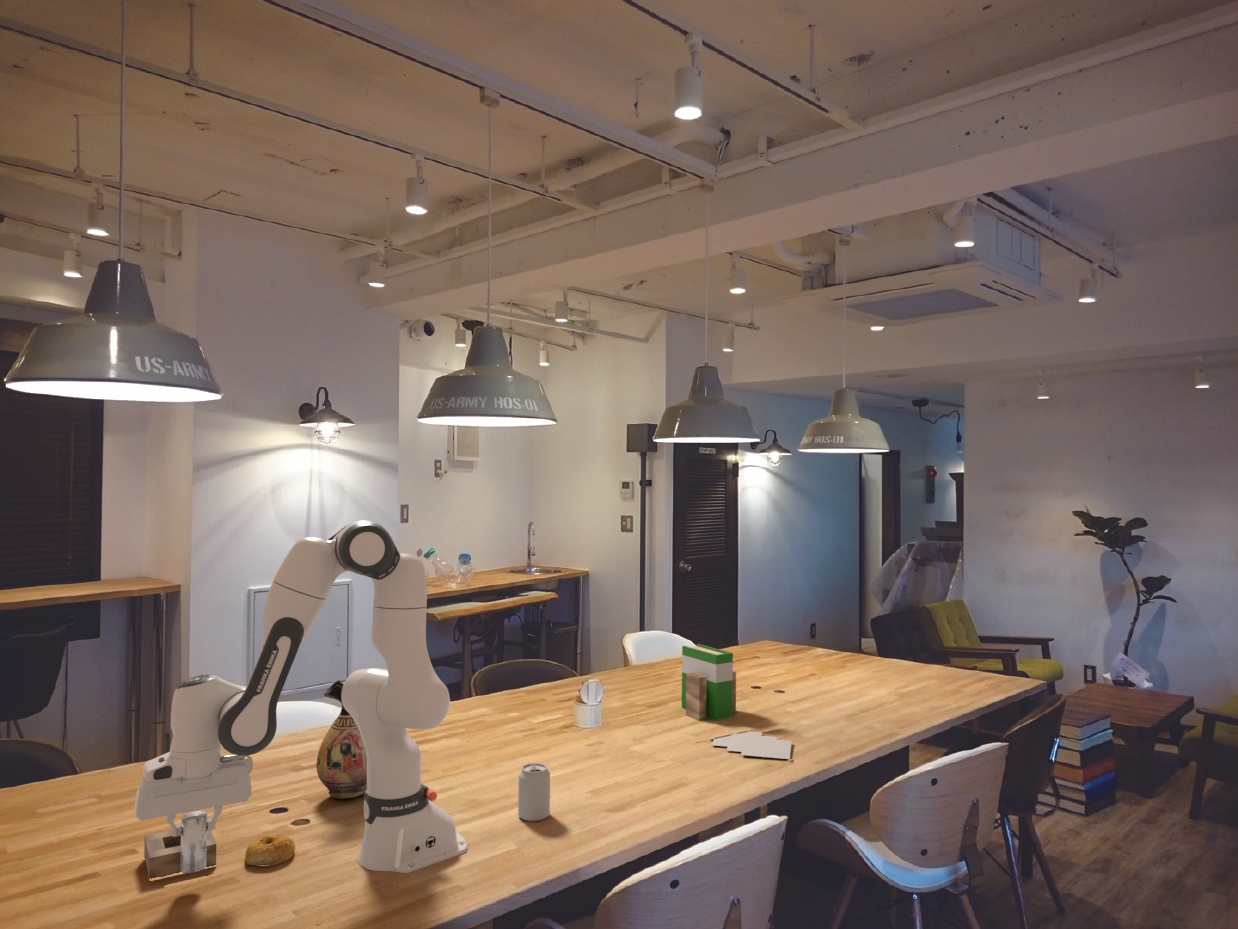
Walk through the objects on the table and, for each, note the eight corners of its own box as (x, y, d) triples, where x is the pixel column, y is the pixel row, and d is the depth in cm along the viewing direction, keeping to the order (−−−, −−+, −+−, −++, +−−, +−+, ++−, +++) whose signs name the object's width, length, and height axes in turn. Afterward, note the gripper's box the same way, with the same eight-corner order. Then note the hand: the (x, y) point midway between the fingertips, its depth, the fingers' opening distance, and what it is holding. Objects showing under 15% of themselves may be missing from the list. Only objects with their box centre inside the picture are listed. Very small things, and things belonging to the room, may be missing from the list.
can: (520, 825, 195) (521, 773, 195) (515, 812, 203) (516, 762, 203) (552, 822, 197) (553, 770, 197) (546, 809, 205) (547, 760, 205)
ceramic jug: (313, 807, 204) (315, 683, 204) (318, 784, 219) (320, 668, 219) (386, 800, 209) (387, 679, 209) (386, 778, 224) (387, 665, 224)
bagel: (302, 846, 184) (302, 824, 184) (286, 870, 173) (286, 847, 173) (255, 847, 183) (255, 825, 183) (236, 872, 172) (236, 848, 172)
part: (204, 860, 167) (205, 809, 167) (207, 869, 163) (208, 817, 163) (178, 866, 164) (180, 814, 164) (181, 875, 160) (182, 822, 160)
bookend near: (692, 713, 286) (693, 672, 286) (706, 719, 280) (706, 676, 280) (685, 715, 284) (686, 673, 284) (699, 720, 278) (699, 678, 278)
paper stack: (708, 754, 246) (708, 752, 246) (718, 728, 271) (718, 726, 271) (789, 761, 241) (789, 759, 241) (792, 734, 265) (792, 732, 265)
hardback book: (681, 715, 293) (682, 646, 293) (697, 712, 297) (698, 643, 297) (715, 728, 278) (716, 655, 278) (732, 724, 283) (732, 653, 283)
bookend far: (722, 708, 293) (722, 667, 293) (735, 713, 287) (736, 671, 287) (715, 709, 291) (716, 668, 291) (729, 714, 285) (729, 673, 285)
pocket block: (207, 846, 183) (207, 823, 183) (216, 868, 173) (216, 843, 173) (144, 859, 176) (144, 835, 176) (149, 883, 166) (149, 858, 166)
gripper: (250, 747, 172) (248, 815, 172) (134, 765, 161) (133, 837, 161) (256, 756, 167) (254, 826, 167) (137, 775, 156) (135, 850, 155)
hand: (194, 832), depth 164 cm, fingers closed on part, 4 cm apart
